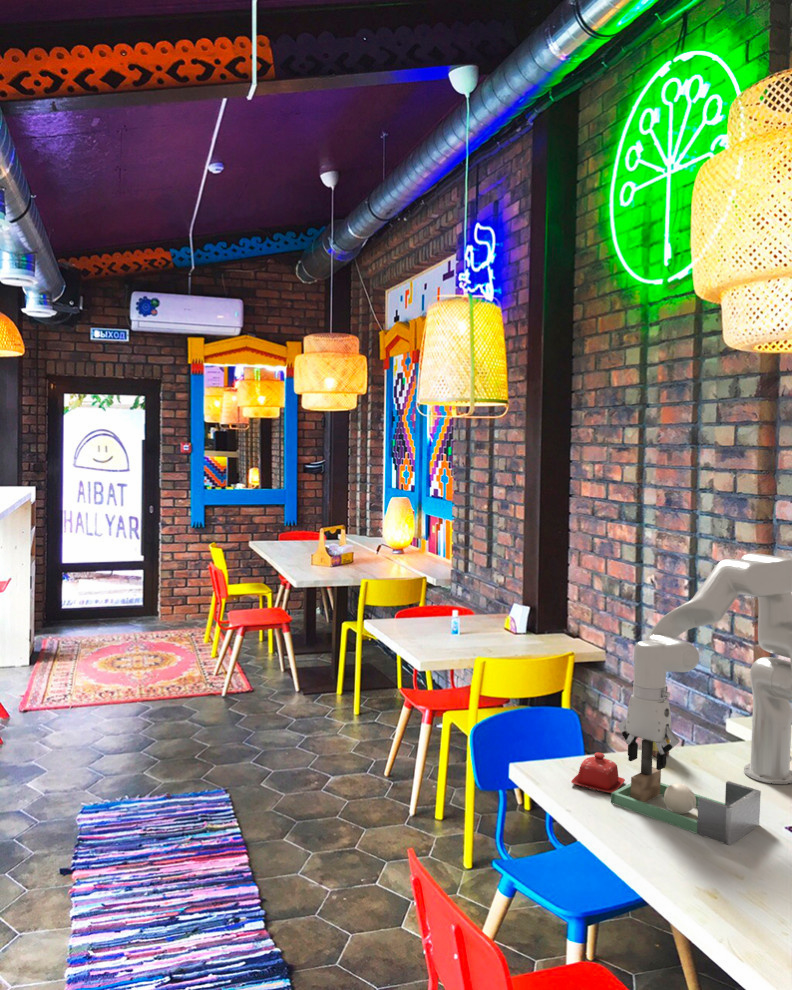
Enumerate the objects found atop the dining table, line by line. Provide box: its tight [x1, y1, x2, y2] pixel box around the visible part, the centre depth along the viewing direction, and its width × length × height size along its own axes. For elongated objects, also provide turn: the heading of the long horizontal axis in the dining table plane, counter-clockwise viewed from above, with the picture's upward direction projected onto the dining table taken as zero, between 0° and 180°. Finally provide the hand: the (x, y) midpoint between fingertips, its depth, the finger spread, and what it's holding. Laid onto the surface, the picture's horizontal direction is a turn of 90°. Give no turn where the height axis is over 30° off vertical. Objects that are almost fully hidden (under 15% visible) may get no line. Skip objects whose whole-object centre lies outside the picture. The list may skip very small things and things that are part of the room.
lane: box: [610, 782, 725, 834], centre depth 199 cm, size 15×22×2 cm
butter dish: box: [571, 752, 626, 794], centre depth 213 cm, size 12×12×8 cm
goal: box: [696, 780, 762, 846], centre depth 188 cm, size 15×8×8 cm, turn 134°
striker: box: [630, 739, 662, 803], centre depth 203 cm, size 10×3×14 cm, turn 134°
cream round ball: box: [663, 782, 697, 815], centre depth 197 cm, size 7×7×7 cm
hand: (646, 763), depth 203 cm, fingers open, 6 cm apart
